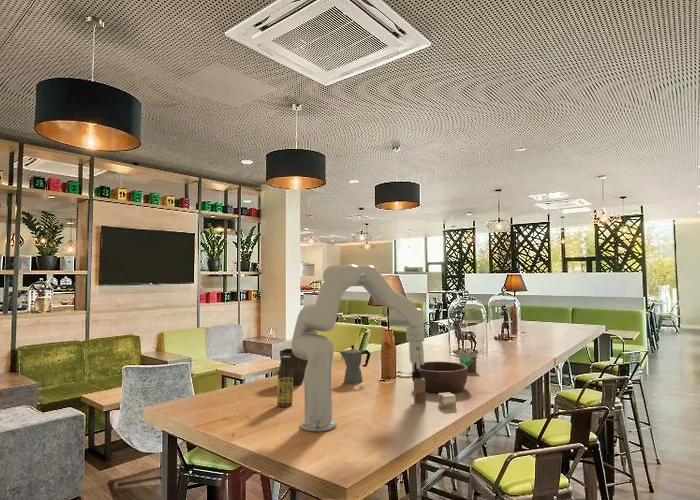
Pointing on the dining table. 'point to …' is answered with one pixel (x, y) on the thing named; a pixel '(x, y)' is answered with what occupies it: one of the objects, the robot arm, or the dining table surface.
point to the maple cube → (447, 400)
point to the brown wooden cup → (295, 366)
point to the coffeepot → (354, 364)
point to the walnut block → (419, 391)
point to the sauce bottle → (285, 383)
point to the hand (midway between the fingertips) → (416, 381)
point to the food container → (468, 360)
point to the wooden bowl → (443, 376)
